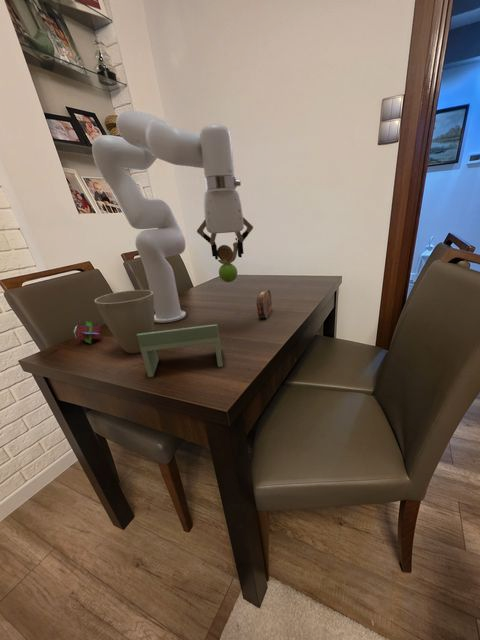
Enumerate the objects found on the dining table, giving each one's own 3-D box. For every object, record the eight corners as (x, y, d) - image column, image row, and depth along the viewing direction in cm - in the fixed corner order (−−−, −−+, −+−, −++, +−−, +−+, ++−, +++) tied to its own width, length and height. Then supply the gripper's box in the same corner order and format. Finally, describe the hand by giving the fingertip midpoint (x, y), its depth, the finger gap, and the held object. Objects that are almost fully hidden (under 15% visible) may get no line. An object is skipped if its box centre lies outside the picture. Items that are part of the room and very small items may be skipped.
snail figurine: (240, 283, 81) (236, 238, 76) (218, 284, 81) (212, 240, 76) (242, 279, 86) (238, 237, 81) (221, 280, 86) (215, 238, 81)
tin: (265, 321, 98) (263, 297, 95) (256, 321, 99) (254, 298, 95) (272, 308, 111) (271, 287, 108) (264, 308, 112) (263, 287, 108)
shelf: (154, 360, 76) (144, 322, 71) (220, 351, 78) (215, 314, 73) (148, 377, 68) (136, 335, 63) (222, 366, 70) (217, 325, 65)
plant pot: (160, 355, 78) (146, 299, 71) (104, 362, 76) (85, 306, 70) (167, 335, 92) (157, 287, 85) (120, 341, 90) (105, 292, 83)
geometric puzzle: (100, 328, 96) (79, 314, 90) (110, 331, 92) (89, 317, 86) (87, 345, 94) (65, 333, 88) (97, 349, 90) (74, 336, 84)
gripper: (250, 185, 78) (255, 254, 85) (187, 188, 75) (197, 258, 83) (255, 182, 71) (260, 256, 79) (186, 185, 68) (197, 262, 76)
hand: (228, 257), depth 81 cm, fingers closed on snail figurine, 6 cm apart
